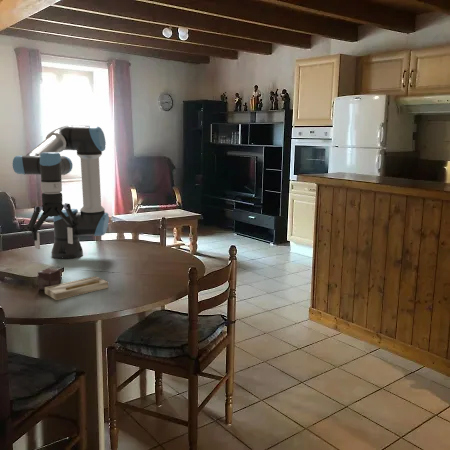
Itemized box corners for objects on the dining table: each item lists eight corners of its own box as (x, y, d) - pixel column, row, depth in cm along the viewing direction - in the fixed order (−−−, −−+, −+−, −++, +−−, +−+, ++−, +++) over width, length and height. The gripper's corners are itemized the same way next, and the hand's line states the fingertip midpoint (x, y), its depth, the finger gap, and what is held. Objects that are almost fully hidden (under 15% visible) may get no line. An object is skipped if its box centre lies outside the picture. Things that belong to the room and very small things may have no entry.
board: (44, 293, 185) (44, 285, 185) (95, 281, 200) (95, 274, 200) (56, 300, 178) (55, 291, 178) (108, 287, 193) (108, 280, 193)
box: (61, 287, 193) (60, 269, 192) (50, 291, 188) (49, 273, 186) (49, 285, 195) (48, 268, 194) (38, 289, 190) (37, 271, 188)
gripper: (23, 196, 173) (27, 252, 177) (86, 191, 190) (87, 242, 194) (15, 193, 178) (18, 248, 182) (76, 189, 196) (78, 239, 200)
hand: (54, 245), depth 188 cm, fingers open, 13 cm apart
